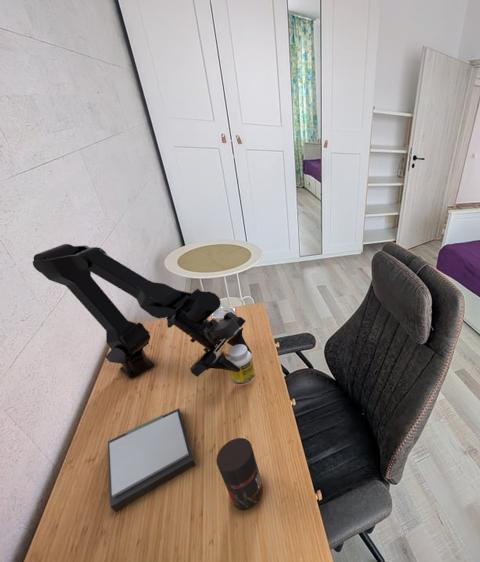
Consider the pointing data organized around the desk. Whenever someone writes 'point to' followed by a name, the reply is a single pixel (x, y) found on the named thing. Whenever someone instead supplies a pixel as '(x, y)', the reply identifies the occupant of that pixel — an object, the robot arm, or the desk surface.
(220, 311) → the beer glass
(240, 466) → the deodorant
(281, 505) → the desk surface
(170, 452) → the kitchen scale
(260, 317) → the desk surface
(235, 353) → the pill bottle
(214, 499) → the desk surface
